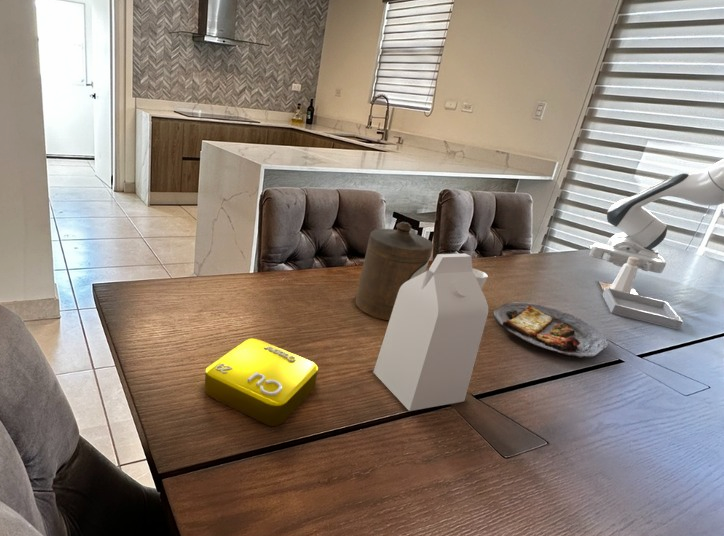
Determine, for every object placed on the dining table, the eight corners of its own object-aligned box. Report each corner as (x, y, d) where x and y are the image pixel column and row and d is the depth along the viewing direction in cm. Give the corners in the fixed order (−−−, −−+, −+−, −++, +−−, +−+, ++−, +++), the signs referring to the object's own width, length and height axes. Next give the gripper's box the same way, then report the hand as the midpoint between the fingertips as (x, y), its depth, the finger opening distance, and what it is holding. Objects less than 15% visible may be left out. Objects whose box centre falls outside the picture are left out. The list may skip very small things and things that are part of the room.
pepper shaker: (621, 294, 144) (636, 261, 140) (605, 286, 149) (619, 254, 144) (634, 294, 146) (649, 261, 141) (618, 286, 150) (632, 254, 146)
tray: (663, 309, 137) (667, 301, 136) (678, 330, 125) (683, 321, 124) (602, 295, 143) (605, 287, 142) (611, 313, 130) (615, 304, 129)
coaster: (634, 290, 150) (634, 289, 150) (642, 301, 141) (642, 300, 141) (598, 282, 153) (599, 281, 153) (603, 292, 145) (604, 291, 145)
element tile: (318, 385, 84) (322, 362, 82) (276, 431, 72) (279, 405, 70) (248, 354, 90) (251, 333, 88) (199, 392, 78) (200, 368, 76)
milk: (424, 365, 94) (459, 242, 84) (464, 401, 84) (509, 267, 74) (373, 372, 90) (403, 243, 79) (409, 411, 80) (449, 270, 70)
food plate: (578, 374, 98) (584, 360, 96) (475, 325, 114) (479, 312, 112) (616, 343, 113) (622, 330, 112) (521, 304, 129) (525, 292, 127)
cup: (450, 300, 126) (458, 272, 123) (456, 288, 134) (464, 262, 131) (477, 308, 123) (486, 280, 120) (482, 295, 131) (490, 269, 128)
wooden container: (418, 326, 109) (442, 236, 101) (355, 315, 111) (373, 226, 102) (411, 300, 123) (432, 219, 114) (355, 290, 124) (371, 209, 116)
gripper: (592, 236, 162) (594, 245, 151) (664, 252, 153) (671, 263, 142) (585, 253, 165) (586, 263, 154) (655, 270, 156) (662, 282, 145)
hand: (628, 264), depth 148 cm, fingers open, 8 cm apart
